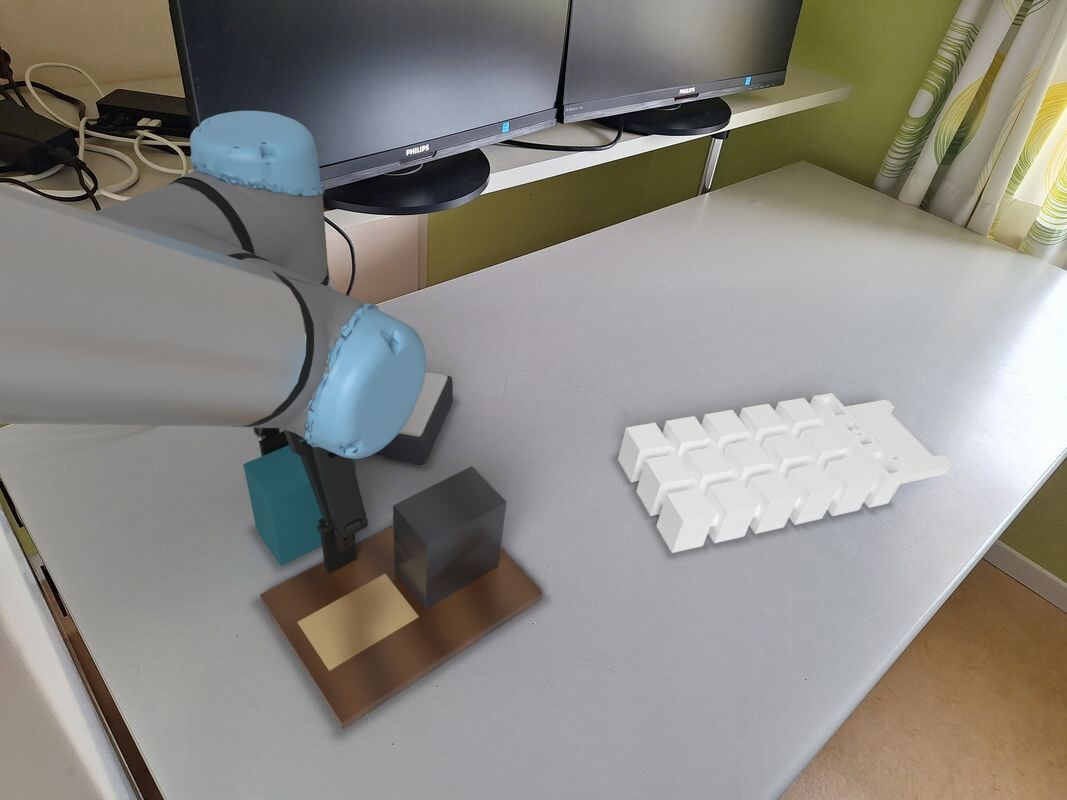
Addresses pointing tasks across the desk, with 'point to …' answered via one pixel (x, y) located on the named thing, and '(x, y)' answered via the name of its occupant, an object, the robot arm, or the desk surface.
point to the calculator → (423, 421)
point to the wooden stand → (404, 597)
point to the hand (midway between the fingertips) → (310, 523)
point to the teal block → (284, 504)
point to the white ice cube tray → (770, 466)
